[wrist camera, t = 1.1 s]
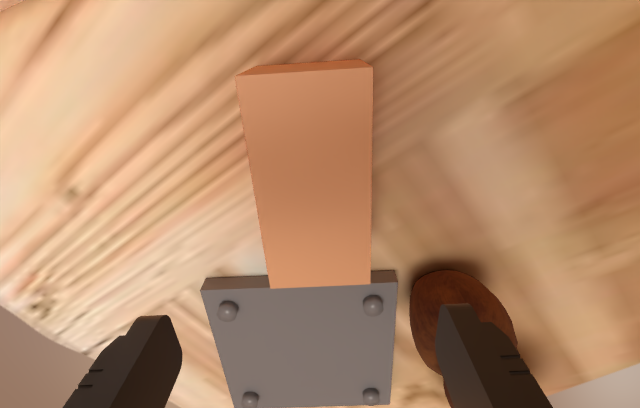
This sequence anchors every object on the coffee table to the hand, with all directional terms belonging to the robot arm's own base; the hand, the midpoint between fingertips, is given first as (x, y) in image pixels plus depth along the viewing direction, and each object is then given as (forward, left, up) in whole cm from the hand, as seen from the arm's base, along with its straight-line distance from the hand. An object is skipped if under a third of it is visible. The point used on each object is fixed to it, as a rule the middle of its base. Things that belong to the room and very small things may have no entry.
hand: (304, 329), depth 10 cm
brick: (0, 0, -15) cm, 15 cm away
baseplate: (+2, +18, -15) cm, 24 cm away
